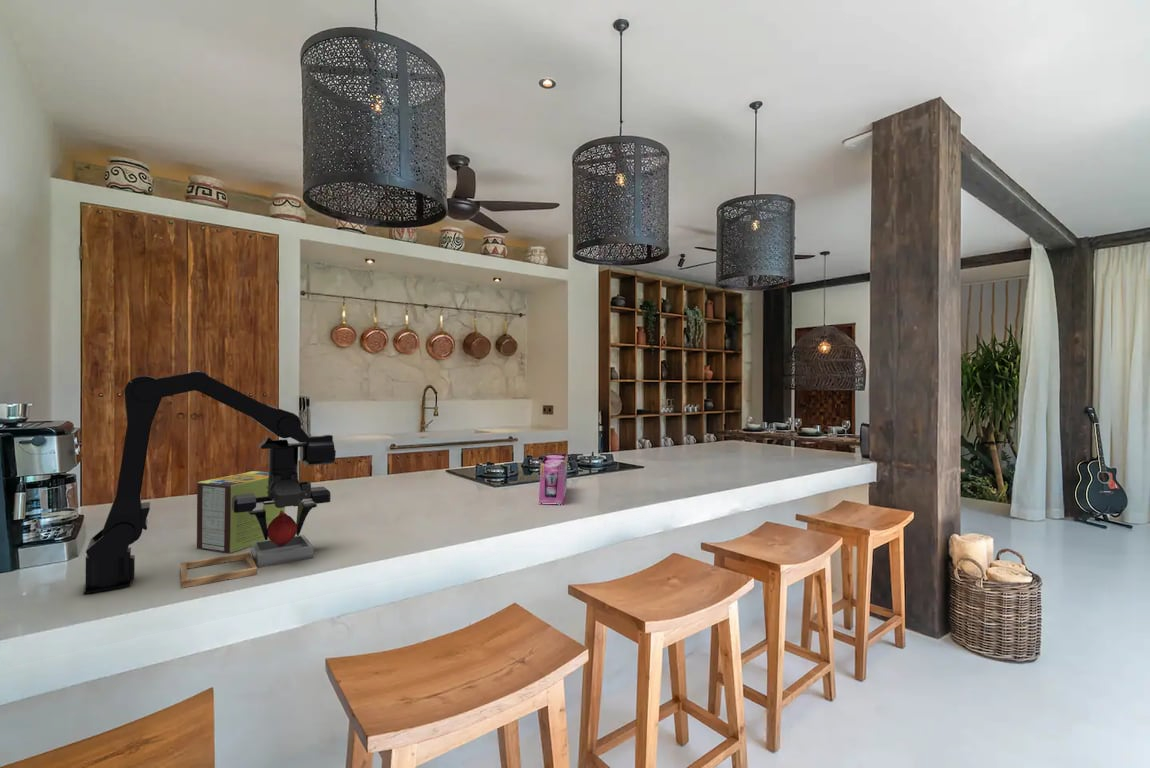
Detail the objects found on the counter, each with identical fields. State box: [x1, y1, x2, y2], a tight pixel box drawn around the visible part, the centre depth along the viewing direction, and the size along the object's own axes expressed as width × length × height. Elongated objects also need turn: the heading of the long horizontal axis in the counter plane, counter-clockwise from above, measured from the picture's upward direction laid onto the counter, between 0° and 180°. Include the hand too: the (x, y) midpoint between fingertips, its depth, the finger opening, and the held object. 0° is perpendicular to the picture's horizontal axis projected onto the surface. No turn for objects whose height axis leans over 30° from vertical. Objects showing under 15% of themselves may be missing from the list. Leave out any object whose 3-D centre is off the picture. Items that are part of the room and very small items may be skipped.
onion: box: [267, 511, 297, 547], centre depth 117 cm, size 6×6×8 cm
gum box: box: [538, 453, 568, 505], centre depth 179 cm, size 24×8×14 cm, turn 178°
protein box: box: [196, 470, 286, 554], centre depth 127 cm, size 10×15×16 cm
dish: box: [251, 534, 314, 568], centre depth 117 cm, size 11×11×2 cm
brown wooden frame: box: [180, 551, 258, 589], centre depth 107 cm, size 12×12×1 cm
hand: (281, 537), depth 117 cm, fingers closed on onion, 6 cm apart
